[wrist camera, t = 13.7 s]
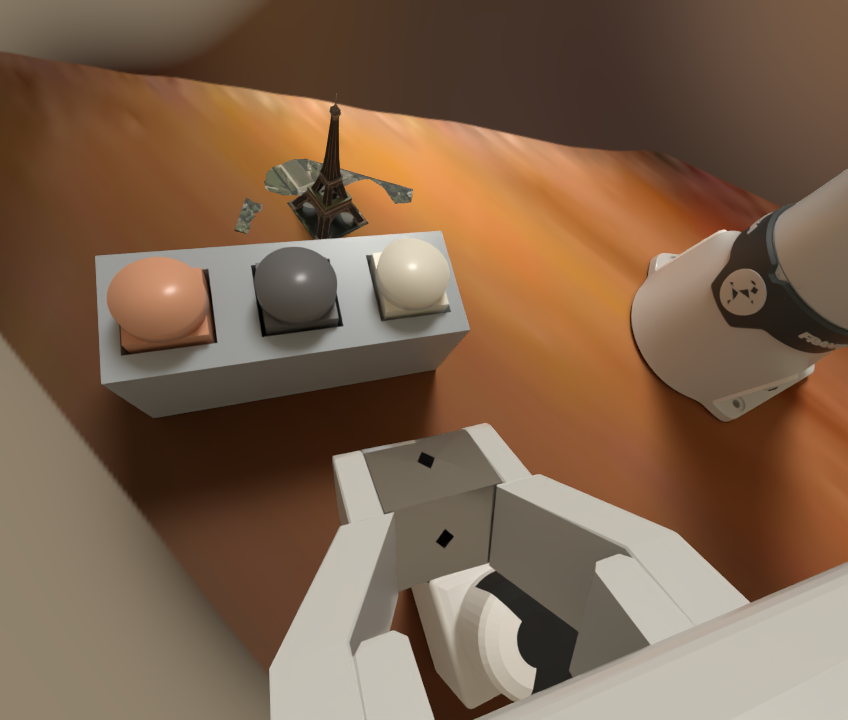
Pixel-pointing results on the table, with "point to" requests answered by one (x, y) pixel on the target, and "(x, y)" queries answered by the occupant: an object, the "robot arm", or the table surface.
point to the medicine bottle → (492, 636)
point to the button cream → (409, 279)
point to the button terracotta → (161, 305)
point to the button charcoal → (296, 291)
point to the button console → (280, 354)
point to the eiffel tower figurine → (320, 191)
